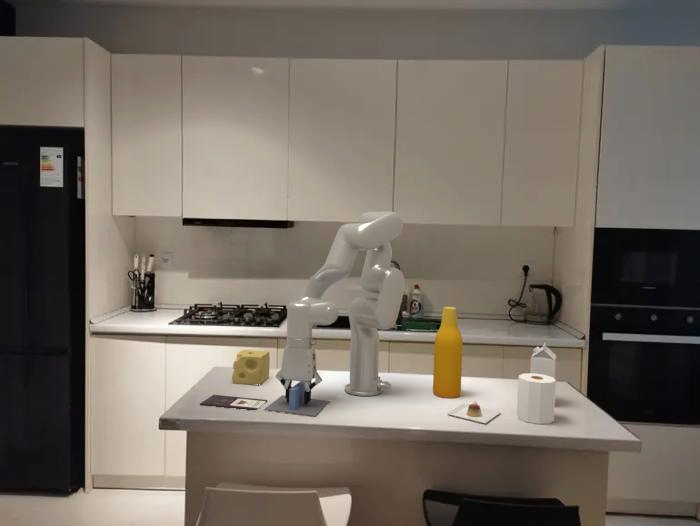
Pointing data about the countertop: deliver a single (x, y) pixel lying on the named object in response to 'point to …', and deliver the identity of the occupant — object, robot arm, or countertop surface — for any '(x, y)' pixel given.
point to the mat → (309, 410)
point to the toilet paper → (536, 398)
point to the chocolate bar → (233, 402)
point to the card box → (296, 395)
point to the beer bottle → (448, 356)
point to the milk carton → (543, 361)
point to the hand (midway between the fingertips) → (298, 401)
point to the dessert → (473, 411)
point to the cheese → (251, 367)
